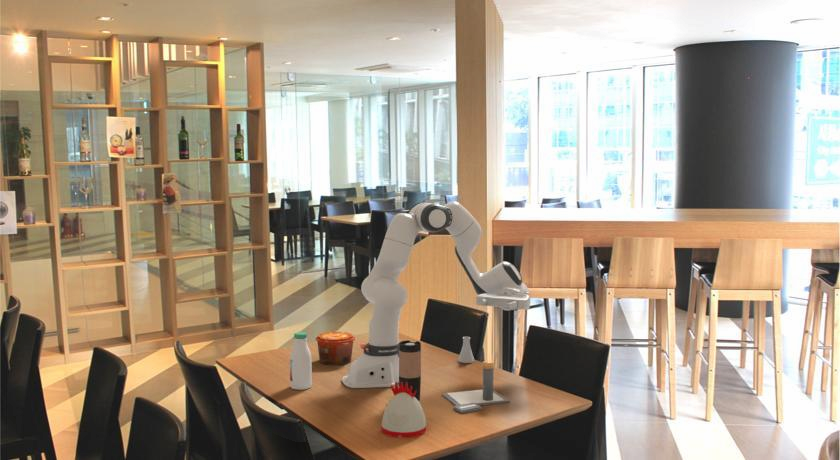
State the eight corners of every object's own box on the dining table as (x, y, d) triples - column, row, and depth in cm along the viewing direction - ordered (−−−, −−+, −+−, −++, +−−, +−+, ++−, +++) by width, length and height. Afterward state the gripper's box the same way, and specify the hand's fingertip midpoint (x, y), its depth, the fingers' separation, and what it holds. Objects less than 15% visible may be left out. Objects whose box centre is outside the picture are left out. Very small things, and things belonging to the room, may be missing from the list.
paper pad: (457, 407, 257) (457, 405, 257) (441, 394, 271) (441, 392, 271) (509, 402, 263) (509, 400, 263) (490, 389, 277) (490, 387, 277)
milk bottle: (315, 385, 281) (315, 332, 279) (304, 391, 274) (303, 336, 272) (298, 382, 284) (297, 329, 282) (286, 388, 277) (285, 334, 275)
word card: (461, 413, 251) (461, 410, 251) (453, 409, 255) (453, 405, 255) (481, 409, 255) (481, 406, 255) (473, 405, 259) (473, 402, 259)
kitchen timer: (389, 420, 245) (390, 374, 243) (431, 424, 241) (431, 377, 240) (375, 434, 232) (375, 386, 230) (418, 440, 228) (419, 390, 226)
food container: (334, 354, 326) (333, 329, 325) (362, 360, 316) (362, 334, 315) (307, 362, 313) (307, 336, 312) (336, 368, 303) (336, 342, 302)
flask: (473, 364, 311) (474, 340, 310) (456, 363, 313) (456, 339, 312) (476, 359, 318) (476, 336, 317) (458, 358, 320) (459, 335, 319)
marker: (485, 401, 262) (485, 364, 260) (480, 397, 265) (481, 361, 264) (495, 400, 263) (495, 363, 262) (490, 396, 266) (491, 360, 265)
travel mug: (404, 404, 260) (404, 346, 258) (394, 398, 267) (395, 341, 265) (424, 401, 264) (425, 344, 262) (414, 394, 270) (414, 339, 268)
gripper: (482, 288, 297) (469, 294, 284) (533, 292, 288) (523, 298, 276) (482, 304, 297) (469, 310, 285) (533, 309, 289) (522, 315, 276)
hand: (496, 304), depth 280 cm, fingers open, 8 cm apart
